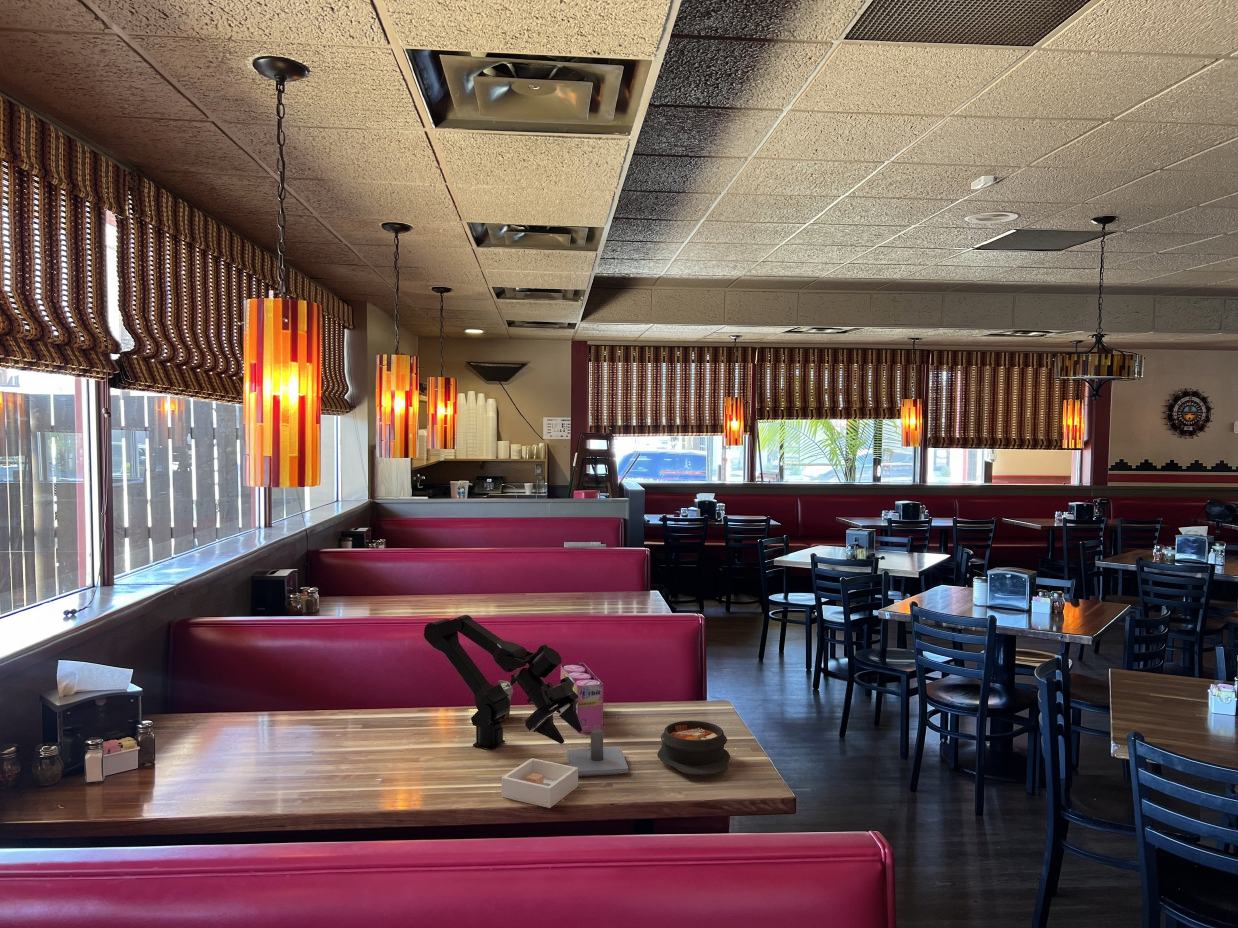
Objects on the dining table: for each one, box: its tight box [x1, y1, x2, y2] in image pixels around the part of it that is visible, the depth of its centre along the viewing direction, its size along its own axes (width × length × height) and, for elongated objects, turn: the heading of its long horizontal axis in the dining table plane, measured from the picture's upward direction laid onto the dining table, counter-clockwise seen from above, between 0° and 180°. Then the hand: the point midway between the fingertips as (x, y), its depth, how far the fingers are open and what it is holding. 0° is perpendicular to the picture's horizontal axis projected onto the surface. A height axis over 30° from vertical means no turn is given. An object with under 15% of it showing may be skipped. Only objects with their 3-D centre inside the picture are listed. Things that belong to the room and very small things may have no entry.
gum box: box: [560, 662, 604, 734], centre depth 248 cm, size 24×8×14 cm, turn 17°
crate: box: [501, 757, 579, 809], centre depth 197 cm, size 13×13×4 cm
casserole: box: [656, 720, 731, 776], centre depth 215 cm, size 25×19×8 cm
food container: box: [498, 679, 514, 724], centre depth 246 cm, size 12×6×10 cm, turn 168°
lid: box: [566, 729, 629, 777], centre depth 212 cm, size 14×14×9 cm
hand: (572, 736), depth 215 cm, fingers open, 9 cm apart
